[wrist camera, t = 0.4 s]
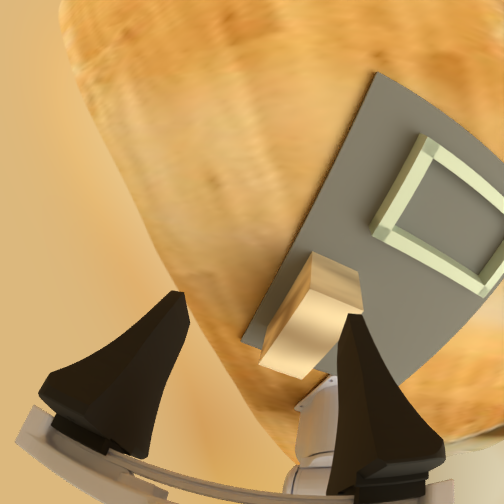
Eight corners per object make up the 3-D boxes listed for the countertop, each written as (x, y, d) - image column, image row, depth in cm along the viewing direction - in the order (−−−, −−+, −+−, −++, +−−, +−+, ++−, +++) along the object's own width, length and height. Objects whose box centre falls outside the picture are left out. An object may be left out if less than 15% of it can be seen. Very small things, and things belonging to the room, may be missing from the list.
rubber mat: (390, 388, 29) (391, 391, 29) (241, 338, 29) (240, 341, 28) (543, 208, 15) (546, 211, 14) (375, 72, 14) (377, 71, 14)
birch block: (306, 341, 26) (301, 379, 23) (267, 326, 26) (258, 364, 23) (357, 271, 22) (363, 310, 18) (312, 251, 21) (309, 288, 18)
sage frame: (477, 287, 20) (483, 298, 18) (368, 226, 19) (371, 236, 18) (524, 219, 15) (533, 227, 14) (419, 132, 15) (427, 136, 14)
